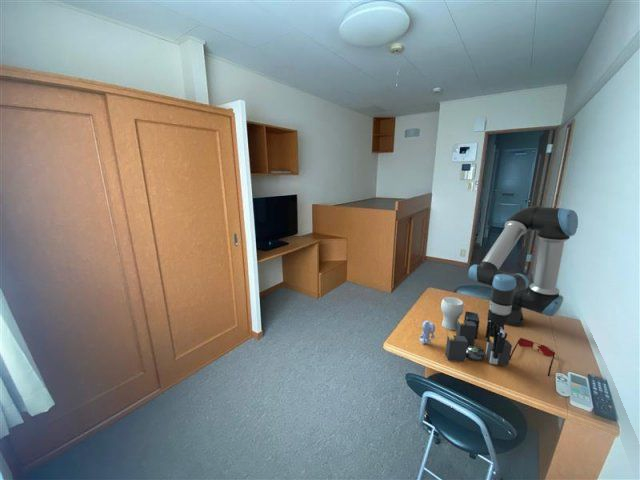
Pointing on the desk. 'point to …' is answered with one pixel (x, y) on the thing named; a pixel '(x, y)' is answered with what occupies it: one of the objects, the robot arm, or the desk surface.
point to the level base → (475, 353)
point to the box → (472, 319)
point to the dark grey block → (456, 348)
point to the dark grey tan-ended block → (504, 356)
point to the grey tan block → (466, 330)
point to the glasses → (544, 349)
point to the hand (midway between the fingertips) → (491, 359)
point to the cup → (451, 312)
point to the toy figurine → (427, 332)
